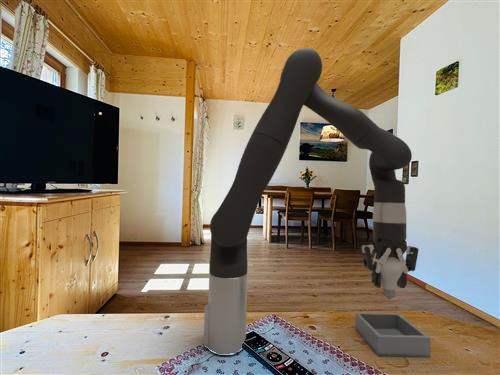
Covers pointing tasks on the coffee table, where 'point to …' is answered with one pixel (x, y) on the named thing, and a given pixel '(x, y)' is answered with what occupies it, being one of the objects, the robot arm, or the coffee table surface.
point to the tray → (392, 335)
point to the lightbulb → (390, 276)
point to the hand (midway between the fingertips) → (389, 286)
